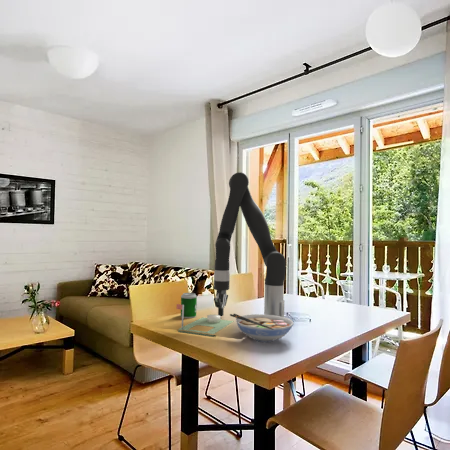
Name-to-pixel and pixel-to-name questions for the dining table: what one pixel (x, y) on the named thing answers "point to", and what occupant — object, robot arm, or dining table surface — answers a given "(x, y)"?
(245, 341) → the dining table surface
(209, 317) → the white dome knob
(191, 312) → the soda can
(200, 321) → the putting board
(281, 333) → the ramen bowl
